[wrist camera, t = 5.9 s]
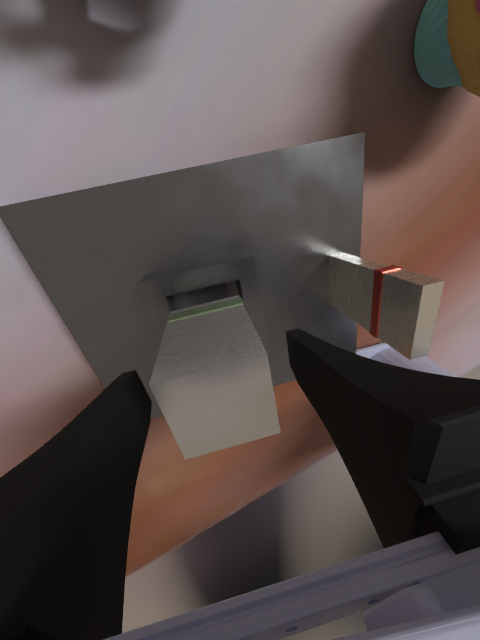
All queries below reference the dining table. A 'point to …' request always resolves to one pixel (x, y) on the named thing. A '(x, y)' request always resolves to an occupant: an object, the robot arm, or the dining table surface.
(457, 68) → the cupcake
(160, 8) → the dining table surface
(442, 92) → the dining table surface
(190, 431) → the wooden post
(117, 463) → the robot arm
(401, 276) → the stand base
